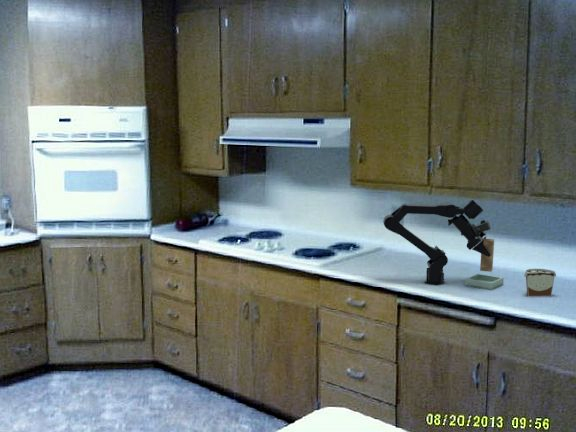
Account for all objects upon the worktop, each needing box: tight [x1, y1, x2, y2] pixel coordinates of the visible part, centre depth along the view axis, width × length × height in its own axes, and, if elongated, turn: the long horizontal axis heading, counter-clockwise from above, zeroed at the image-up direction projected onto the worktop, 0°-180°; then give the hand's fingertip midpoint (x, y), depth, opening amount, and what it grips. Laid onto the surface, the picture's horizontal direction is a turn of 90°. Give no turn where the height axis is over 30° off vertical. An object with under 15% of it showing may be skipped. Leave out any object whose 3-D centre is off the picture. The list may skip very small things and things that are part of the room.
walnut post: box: [479, 237, 495, 273], centre depth 270 cm, size 4×4×13 cm
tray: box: [464, 273, 504, 291], centre depth 273 cm, size 12×12×3 cm
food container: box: [523, 268, 557, 298], centre depth 258 cm, size 12×6×10 cm, turn 92°
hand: (490, 255), depth 270 cm, fingers closed on walnut post, 4 cm apart
